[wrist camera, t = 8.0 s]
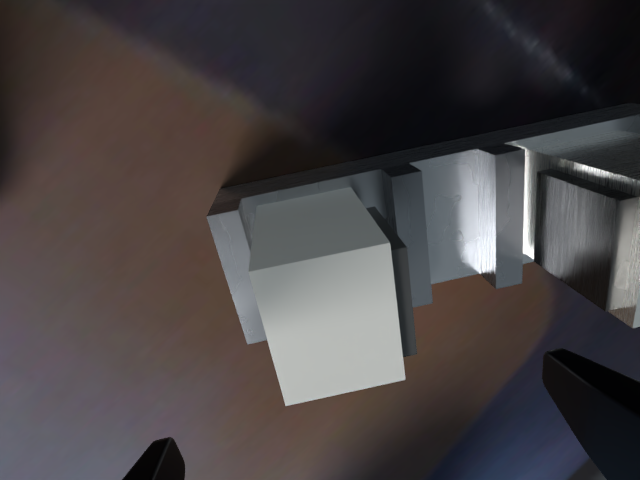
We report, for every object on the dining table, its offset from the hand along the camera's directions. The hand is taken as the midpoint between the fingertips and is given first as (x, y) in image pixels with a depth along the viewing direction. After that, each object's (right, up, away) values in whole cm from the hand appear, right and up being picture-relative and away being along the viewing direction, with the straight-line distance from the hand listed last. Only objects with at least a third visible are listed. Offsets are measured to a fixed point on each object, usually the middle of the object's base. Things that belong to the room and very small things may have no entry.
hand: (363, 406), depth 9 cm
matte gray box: (-1, +4, +8) cm, 9 cm away
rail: (+5, +6, +11) cm, 13 cm away
